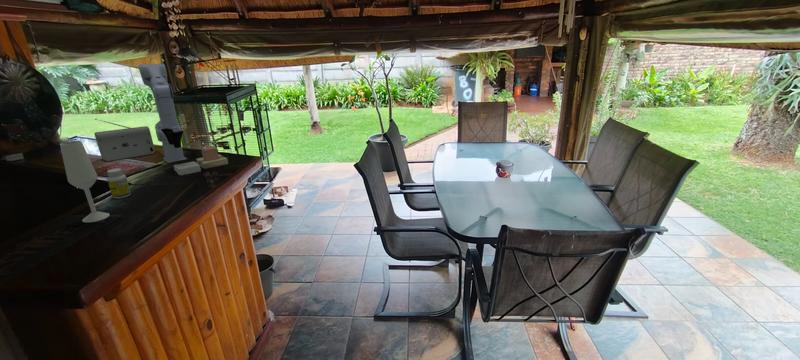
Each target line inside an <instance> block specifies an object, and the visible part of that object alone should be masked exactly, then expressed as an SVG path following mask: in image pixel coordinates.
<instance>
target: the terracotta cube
mask: <svg viewBox="0 0 800 360" xmlns="http://www.w3.org/2000/svg"><path fill="white" fill-rule="evenodd" d="M200 150H201V155H202V157H203V159H204V160H206V161H211V160H215V159H219V157H218V154H219V152H218V148H217V147H216V146H213V145H210V146H207V147H200Z"/></svg>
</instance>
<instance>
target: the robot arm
mask: <svg viewBox="0 0 800 360" xmlns="http://www.w3.org/2000/svg"><path fill="white" fill-rule="evenodd" d="M138 69H139V73H140V76H141V80H142V83H143V85H145V86H146V87H149V89H150V91H151V92H152V95H153V101H154V103H155V106H156V110H157V114H158V118H159V121H158V122H156V123H155V125H154V130H155V134H156V137H157V141H158V142H161V148H162V151H163V156H164V157H162V159H163V160H164V161H165V162H166V163H168V164H169V163H174V162H179V161H181V162H182V161H185V160H186V161H187V160H188V158H187V157H186V156H185V155H184V151H183V146H182V139H183V138H184V135H183V134H184V131H183V130H182V127H181V125H180V123H179V121H178V117H177V112H176V108H175V103H174V91H173V89H172V85H171V83H168V73H167V72H168V71H167V69H166V65H165V64H164V63H139V64H138Z"/></svg>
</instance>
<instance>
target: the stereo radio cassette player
mask: <svg viewBox="0 0 800 360" xmlns="http://www.w3.org/2000/svg"><path fill="white" fill-rule="evenodd" d="M94 120H96V121H98V118H94ZM99 121H101V122H104V123H107V124H111V125H114V126H118V127H123V128H120V129H112V130H103V131H102V130H101V131H95V132H94V137H95V141H96V144H97V148H98V150H99V154H100V157H101V158H102V160H104V161H105V162H108V163H109V162H111V161H119V160H124V159H129V158H135V157H136V158H137V157H141V156H142V157H143V156H149V155H154V154H155V152H156V150H155V145H154V144H155V143H154V142H153V141H154V140H153V137H152V132H151V129H150V127H149V126H147V125H145V126H136V127H130V126H129V127H128V126H125V125H121V124H117V123H113V122H109V121H106V120H101V119H99Z"/></svg>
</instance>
